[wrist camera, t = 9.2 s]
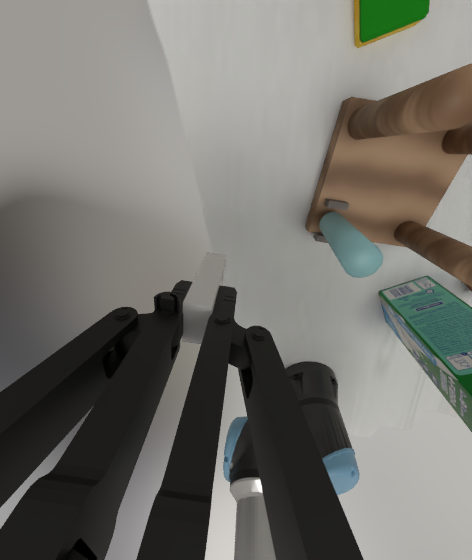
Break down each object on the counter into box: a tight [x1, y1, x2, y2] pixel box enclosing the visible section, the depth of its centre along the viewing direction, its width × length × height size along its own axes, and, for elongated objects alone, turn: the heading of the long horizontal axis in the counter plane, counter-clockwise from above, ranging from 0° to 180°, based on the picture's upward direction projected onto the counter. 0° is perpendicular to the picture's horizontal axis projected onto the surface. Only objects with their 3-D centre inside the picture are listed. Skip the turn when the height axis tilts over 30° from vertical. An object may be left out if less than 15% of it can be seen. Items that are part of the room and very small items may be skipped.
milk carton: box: [379, 276, 472, 432], centre depth 35 cm, size 9×9×25 cm
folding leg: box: [319, 212, 383, 278], centre depth 28 cm, size 4×4×14 cm
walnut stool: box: [305, 64, 472, 287], centre depth 27 cm, size 19×18×19 cm
